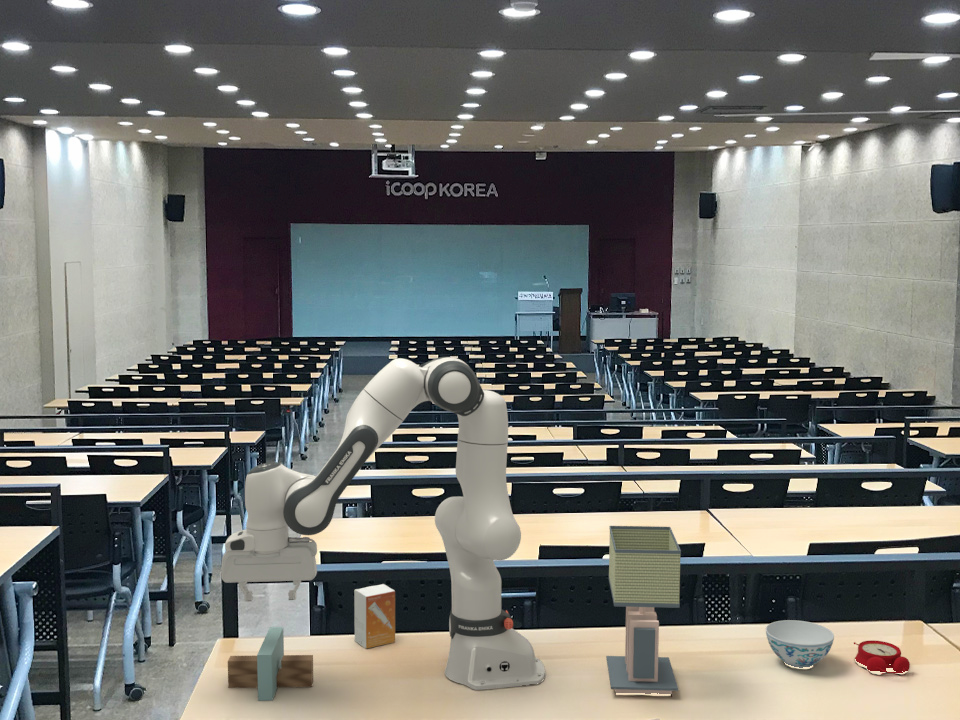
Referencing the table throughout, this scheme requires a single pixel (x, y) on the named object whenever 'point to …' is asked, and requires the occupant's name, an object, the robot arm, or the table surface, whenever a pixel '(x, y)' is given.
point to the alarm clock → (881, 656)
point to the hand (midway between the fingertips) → (270, 600)
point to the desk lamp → (643, 604)
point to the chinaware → (799, 642)
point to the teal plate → (269, 663)
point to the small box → (374, 615)
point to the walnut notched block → (289, 675)
